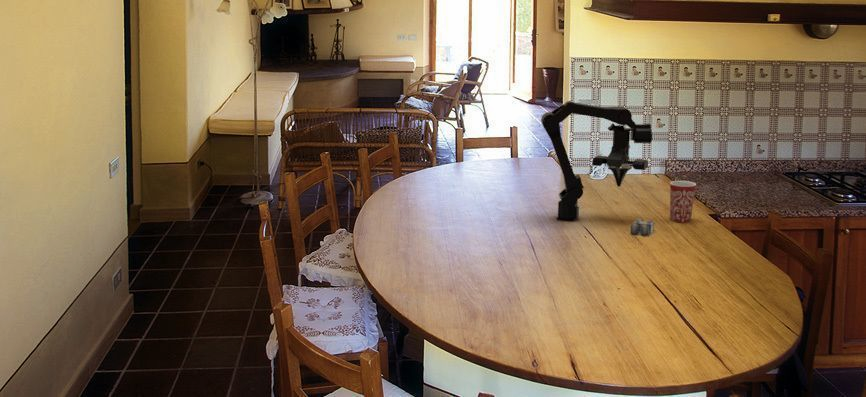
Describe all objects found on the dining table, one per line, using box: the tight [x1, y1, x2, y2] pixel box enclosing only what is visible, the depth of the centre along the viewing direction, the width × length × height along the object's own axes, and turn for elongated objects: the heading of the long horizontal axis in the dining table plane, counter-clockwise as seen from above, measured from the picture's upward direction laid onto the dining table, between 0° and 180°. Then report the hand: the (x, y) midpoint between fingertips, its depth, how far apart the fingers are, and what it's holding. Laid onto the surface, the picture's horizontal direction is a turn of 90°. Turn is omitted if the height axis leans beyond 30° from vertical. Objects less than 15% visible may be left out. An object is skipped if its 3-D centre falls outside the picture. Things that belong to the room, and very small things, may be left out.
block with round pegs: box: [632, 218, 655, 235], centre depth 298 cm, size 6×4×4 cm, turn 63°
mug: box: [669, 180, 697, 223], centre depth 314 cm, size 13×9×14 cm
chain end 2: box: [640, 219, 655, 237], centre depth 297 cm, size 2×9×3 cm, turn 153°
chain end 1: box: [630, 218, 644, 236], centre depth 299 cm, size 2×9×3 cm, turn 153°
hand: (618, 186), depth 313 cm, fingers closed
